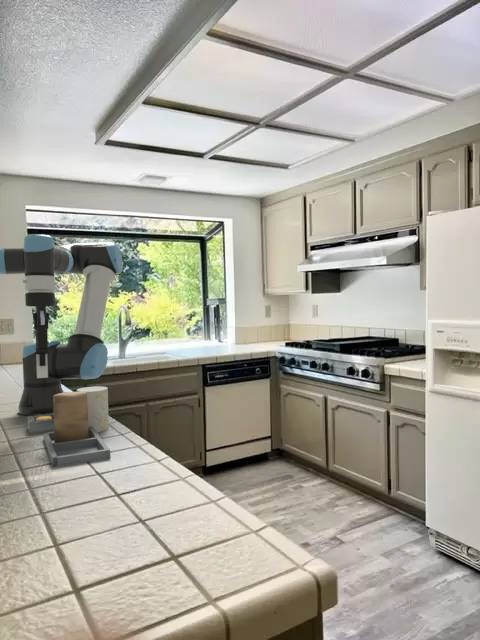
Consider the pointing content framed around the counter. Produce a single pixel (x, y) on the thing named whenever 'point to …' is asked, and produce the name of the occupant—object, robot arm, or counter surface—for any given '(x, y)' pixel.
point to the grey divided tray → (76, 449)
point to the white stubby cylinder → (97, 407)
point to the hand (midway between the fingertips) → (42, 377)
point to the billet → (70, 416)
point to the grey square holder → (40, 424)
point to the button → (43, 418)
